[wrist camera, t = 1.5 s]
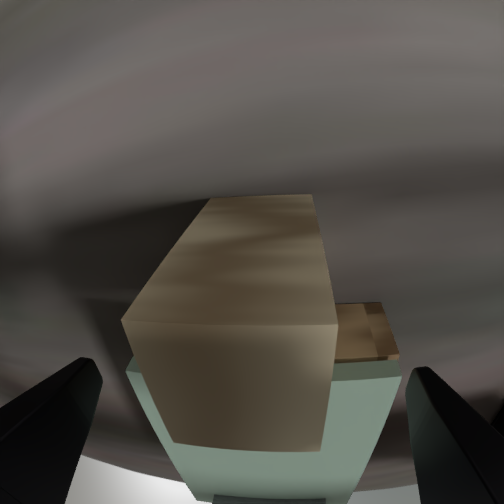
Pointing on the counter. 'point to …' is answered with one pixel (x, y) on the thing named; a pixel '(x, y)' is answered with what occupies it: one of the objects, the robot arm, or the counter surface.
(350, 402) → the lid
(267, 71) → the counter surface
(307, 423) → the brown wooden block
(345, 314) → the open wooden tray
